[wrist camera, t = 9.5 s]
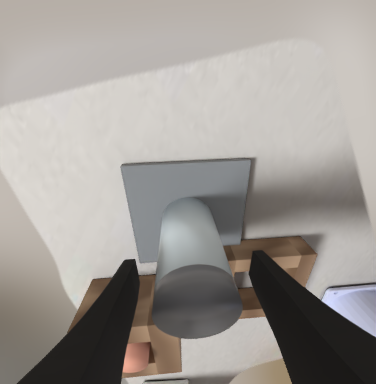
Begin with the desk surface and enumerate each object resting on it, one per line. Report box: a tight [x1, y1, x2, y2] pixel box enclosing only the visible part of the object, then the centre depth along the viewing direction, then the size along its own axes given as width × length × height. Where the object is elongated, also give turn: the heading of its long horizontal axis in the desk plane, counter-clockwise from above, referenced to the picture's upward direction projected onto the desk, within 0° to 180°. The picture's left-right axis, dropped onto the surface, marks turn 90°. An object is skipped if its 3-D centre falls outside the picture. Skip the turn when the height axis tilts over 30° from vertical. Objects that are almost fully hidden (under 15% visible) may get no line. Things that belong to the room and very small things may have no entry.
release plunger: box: [123, 342, 150, 373], centre depth 18 cm, size 3×3×5 cm
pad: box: [120, 158, 251, 263], centre depth 16 cm, size 10×10×1 cm
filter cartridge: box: [152, 197, 243, 339], centre depth 12 cm, size 4×4×8 cm
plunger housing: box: [67, 275, 182, 378], centre depth 19 cm, size 9×9×5 cm
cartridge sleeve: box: [223, 236, 318, 319], centre depth 19 cm, size 9×9×2 cm
